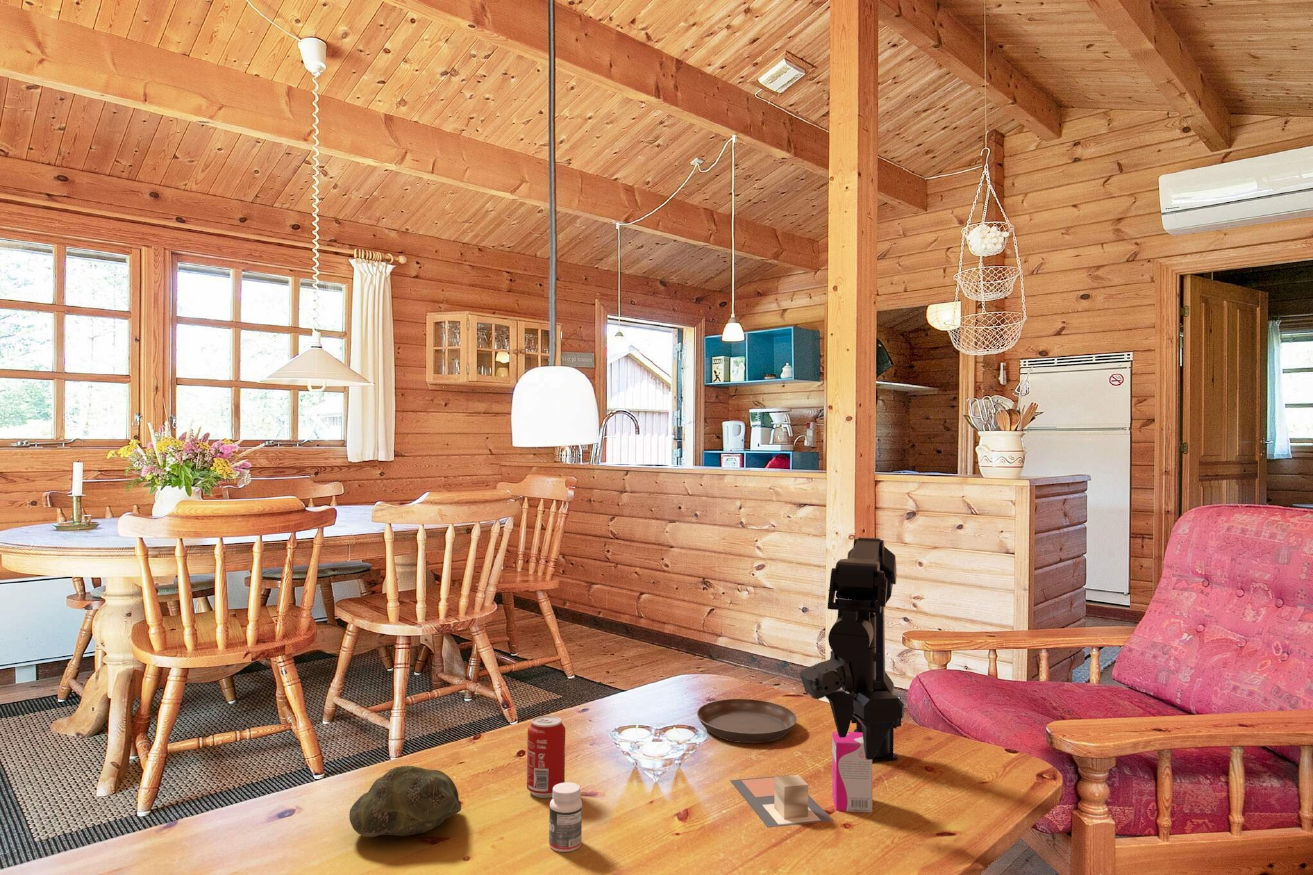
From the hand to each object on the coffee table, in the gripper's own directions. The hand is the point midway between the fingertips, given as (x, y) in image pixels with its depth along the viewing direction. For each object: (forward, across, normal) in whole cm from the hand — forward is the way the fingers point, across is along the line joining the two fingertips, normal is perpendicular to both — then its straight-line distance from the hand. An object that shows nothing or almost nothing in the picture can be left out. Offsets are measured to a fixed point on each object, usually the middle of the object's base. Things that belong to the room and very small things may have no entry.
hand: (855, 747), depth 124 cm
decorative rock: (+13, -14, -66) cm, 69 cm away
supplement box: (+13, -9, +4) cm, 16 cm away
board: (+13, -12, -8) cm, 19 cm away
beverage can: (+13, -23, -45) cm, 52 cm away
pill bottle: (+13, -4, -43) cm, 46 cm away
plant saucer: (+14, -47, -1) cm, 49 cm away
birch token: (+12, -7, -7) cm, 16 cm away
